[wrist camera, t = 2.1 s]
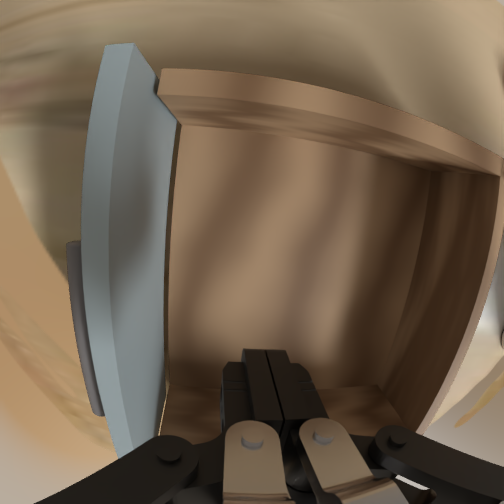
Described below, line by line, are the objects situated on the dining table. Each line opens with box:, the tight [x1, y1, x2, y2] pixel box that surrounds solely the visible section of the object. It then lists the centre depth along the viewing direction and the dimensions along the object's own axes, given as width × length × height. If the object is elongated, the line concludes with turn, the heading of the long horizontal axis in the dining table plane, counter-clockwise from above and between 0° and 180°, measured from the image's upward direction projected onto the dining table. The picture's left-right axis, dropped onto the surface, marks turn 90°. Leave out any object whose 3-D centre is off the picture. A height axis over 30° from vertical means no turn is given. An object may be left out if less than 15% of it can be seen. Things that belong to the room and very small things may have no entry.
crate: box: [157, 68, 504, 445], centre depth 18 cm, size 20×22×9 cm
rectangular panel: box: [66, 43, 177, 459], centre depth 14 cm, size 2×22×10 cm, turn 173°
